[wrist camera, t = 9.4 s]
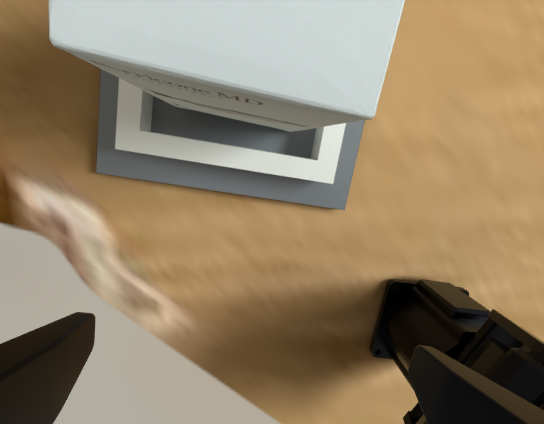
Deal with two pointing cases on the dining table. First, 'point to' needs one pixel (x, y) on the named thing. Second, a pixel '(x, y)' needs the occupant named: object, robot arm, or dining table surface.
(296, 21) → the supplement box
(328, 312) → the dining table surface
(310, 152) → the dock
